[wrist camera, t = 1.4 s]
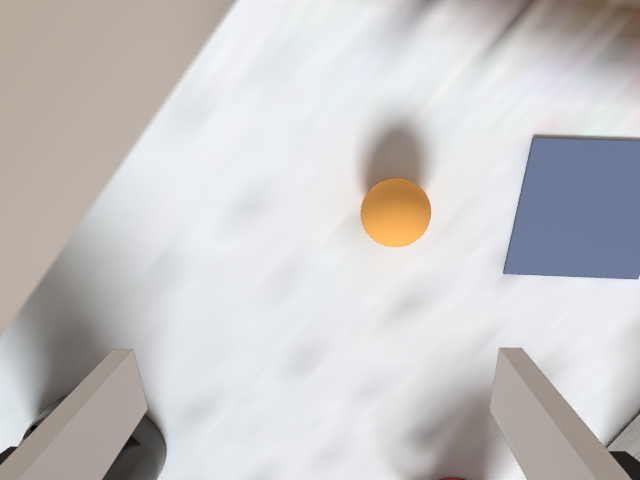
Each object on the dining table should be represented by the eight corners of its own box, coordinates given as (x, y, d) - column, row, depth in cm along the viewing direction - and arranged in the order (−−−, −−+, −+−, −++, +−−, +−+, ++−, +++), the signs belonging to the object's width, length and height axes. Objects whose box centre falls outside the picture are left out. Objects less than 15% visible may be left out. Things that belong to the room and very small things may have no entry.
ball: (356, 233, 31) (360, 256, 26) (360, 172, 29) (366, 183, 24) (417, 236, 31) (434, 259, 26) (425, 174, 29) (445, 185, 24)
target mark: (503, 272, 32) (504, 273, 32) (532, 137, 28) (534, 138, 28) (636, 278, 31) (637, 279, 31) (685, 142, 28) (687, 142, 27)
